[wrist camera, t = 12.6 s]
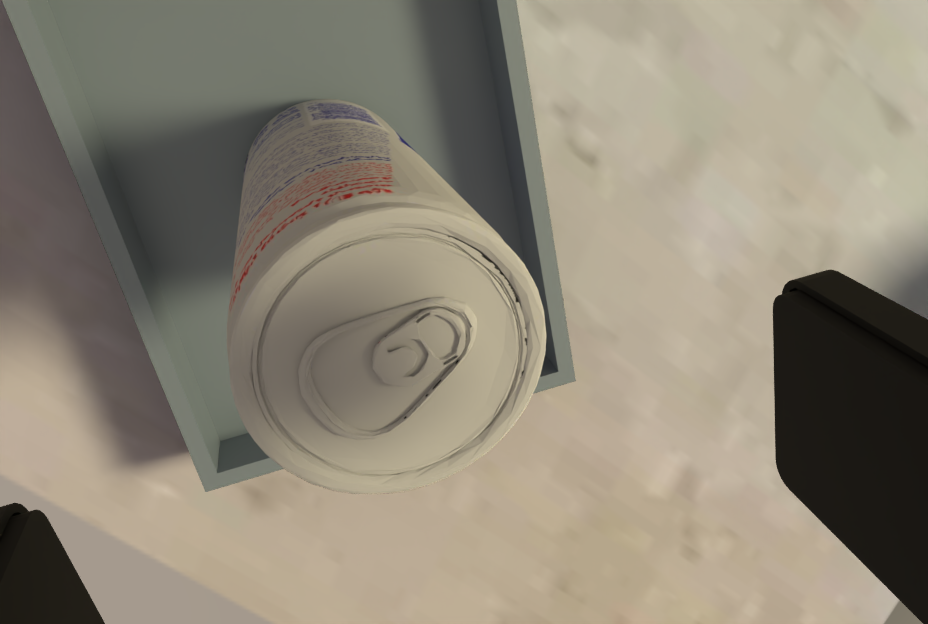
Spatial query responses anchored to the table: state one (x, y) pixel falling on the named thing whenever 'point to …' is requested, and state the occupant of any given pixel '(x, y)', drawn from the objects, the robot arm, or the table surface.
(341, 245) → the beverage can
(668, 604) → the table surface
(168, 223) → the tray
